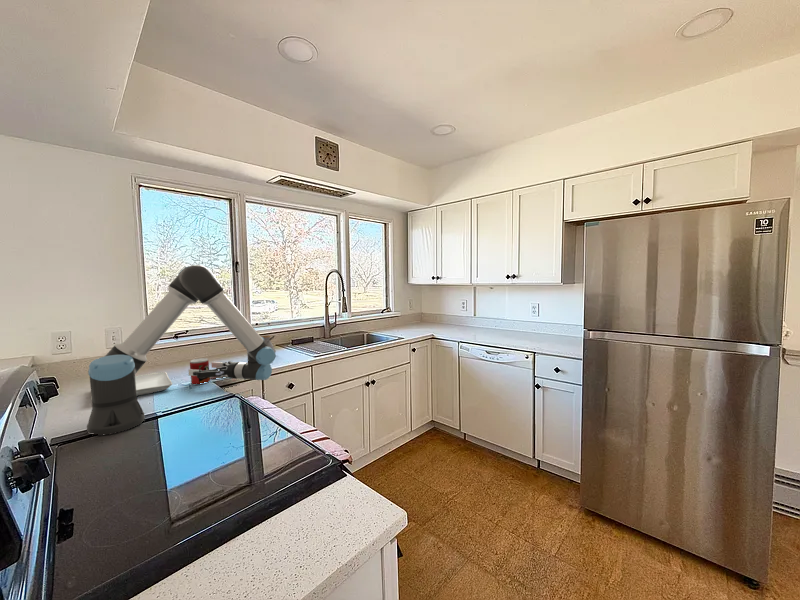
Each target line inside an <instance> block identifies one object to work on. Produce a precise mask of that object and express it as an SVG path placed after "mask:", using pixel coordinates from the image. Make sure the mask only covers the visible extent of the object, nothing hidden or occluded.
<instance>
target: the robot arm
mask: <svg viewBox="0 0 800 600" xmlns="http://www.w3.org/2000/svg"><path fill="white" fill-rule="evenodd" d="M167 288H168V292H167V293H166V294H165V295H164V297H163V298H162V299H161V300H160V301H159V302H158V303H157V304H156V306H155V307H154V308H153V309H152V310H151V311H150V312H149V313H148V314H147V315H146V317H145V318H144V319H143V320H142V322H141V323H139V324H138V326H136V328H135V329H134V330H133V331H132V332H131V334H130V335H129V336H128V337H127V338H126V339H125V340H124V341H123V342H121V343H116V344H114V346H113V347H112V348H111V349H110V350H109V351H108V352H107V353H106V354H105V355H104V356H101V357H98V358H95V359H94V360H92V361H91V362H90V363H89V365H88V371H87V372H88V373H87V374H88V376H89V384H90V396H91V397H90V399H91V398H92V401H91V407H92V409H91V412H90V416H89V419H88V422H87V424H86V432H87V431H88V432H90V433H94V434H98V435H101V436H104V435H103V434H109V435H111V434H110V433H114V434H116V433H115V432H118V433H121V432H120V431H122V432H125V431H128V430H131V429H133V428H132V427H134V428H135V426H136V427H138V426H140V425H142V422H143V421H144V422H145V420H146V418H145V417H146V415H145V412H144V410H143V408H142V407H141V404H140V403H139V401H138V397H137V395H136V382H135V376H136V375H137V373H138V372H139V370H140V369H141V368H142V367H143V366H144V364H145V363H147V362H148V359H147V354H149V352H150V351H151V350H152V348H154V346H155V345H156V344H157V343H158V341H159V340H160V339H161V338H162V337H163V336H164V335H165V334H166V333H167V332H168V330H169V329H170V328H171V326H172V325H173V324H174V323H175V322H176V320H177V319H179V317H180V316H181V315H182V313H184V311H185V310H186V309H187V308H188V307H189V305H193V304H197V302H198V301H199V302H200V303H201V304H202V305H207V307H208V308H209V309H210V311H212V313H214V315H215V316H216V317H217V318H218V319H219V321H220V322H221V323H222V324H223V326H225V327H226V328H227V329H228V330H229V332H230V333H232V335H233V337H235V338H236V339H237V341H238V342H239V343H240V344H241V345H242V346H243V348H244V349H245V350H246V353H247V355H246V356H247V362H245V361H225V362H222V361H220V362H219V361H218V362H217V361H211V368H212V369H209V370H204V371H202V370H200V369H199V370H192V369H190V368H189V369H188V376H190V377H191V376H197V378H205V377H220V376H221V375H227V376H228V378H229V379H234V380H235V379H236V380H237V379H239V380H243V381H246V380H252V381H253V380H255V381H266V380H269V378H270V377H271V376H272V371H273V368H272V365H271V364H272V363H274V361H275V360H276V358H277V357H276V352H274V350H273V349H272V348H270V347H269V346H268V345H267V343H266V342H265V341H264V338H263V337H261V336H262V335H260V334H259V332H258V331H256V329H255V328H254V327H253V325H252V324H251V323H250V322H249V321H248V320H247V318H246V317H245V316H244V315H243V314H242V312H241V311H240V310H239V309H238V308H237V307H236V306H235V304H234V303H233V302H232V300H231V299H230V298H229V297H228V296H227V295H226V294H225V287H223V286H222V284H221V283H220V281H219V280H218V279H217V277H216V275H215V274H214V273H213V272H212V271H211V269H209V268H208V267H206V266H205V265H201V264H194V265H188V266H186V267H183V268H182V269H181V270H180V271H179V272H178V275H177V276H175V278H174V279H173V280H171V282H170V284H169V285H168V287H167ZM144 419H145V420H144ZM144 422H143V423H144ZM139 424H140V425H139ZM137 425H138V426H137ZM130 428H131V429H130ZM127 429H128V430H127ZM124 430H125V431H124Z"/></svg>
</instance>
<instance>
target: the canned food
mask: <svg viewBox="0 0 800 600" xmlns="http://www.w3.org/2000/svg"><path fill="white" fill-rule="evenodd" d="M189 369H192V370H199V369H200V370H202V371H204V370H210V361H209V358H206V357H200V358H193V359H191V360H189ZM208 381H209V382H210V381H211V379H210V377H205V378H197V376H190V383H191V385H193V384H200V383H204V382H208ZM209 382H208V383H209ZM200 385H201V384H200Z"/></svg>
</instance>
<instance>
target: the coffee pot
mask: <svg viewBox="0 0 800 600" xmlns="http://www.w3.org/2000/svg"><path fill="white" fill-rule="evenodd" d="M260 336H261V337H263V338H264V341H265V342H266V343H267V345H268V346H269V347H270V348H272V349H273V350H274V352H275V353H276V351H277V350H276V349H275V346H274V345H273V343H272V341H271V340H275V339H276V338H277V336H275V335H273V336H271V335H260Z"/></svg>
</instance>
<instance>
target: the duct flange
mask: <svg viewBox="0 0 800 600" xmlns="http://www.w3.org/2000/svg"><path fill="white" fill-rule="evenodd" d="M223 377H228V376H227V375H221V376H220V377H210V380H217V379H216V378H223ZM228 378H229V377H228Z"/></svg>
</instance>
